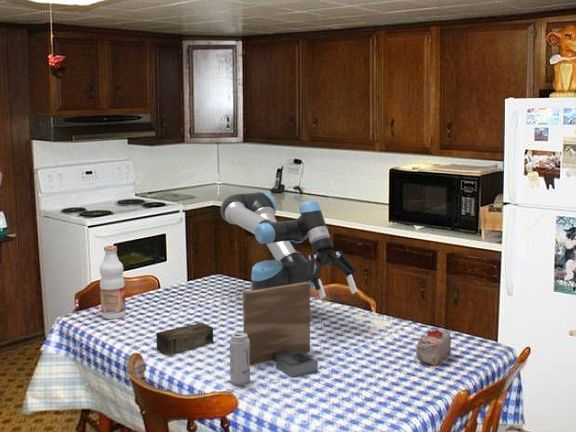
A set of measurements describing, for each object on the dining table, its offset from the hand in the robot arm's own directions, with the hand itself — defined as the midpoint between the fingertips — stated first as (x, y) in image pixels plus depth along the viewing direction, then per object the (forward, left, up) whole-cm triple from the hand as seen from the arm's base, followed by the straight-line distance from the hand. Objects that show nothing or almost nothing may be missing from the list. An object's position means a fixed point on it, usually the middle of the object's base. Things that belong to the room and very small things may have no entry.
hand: (339, 295), depth 247 cm
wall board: (+5, -28, -16) cm, 32 cm away
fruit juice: (-68, -61, -16) cm, 93 cm away
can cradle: (+13, -28, -16) cm, 35 cm away
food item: (+33, +15, -16) cm, 39 cm away
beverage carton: (-22, -50, -17) cm, 57 cm away
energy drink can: (+17, -48, -16) cm, 53 cm away
